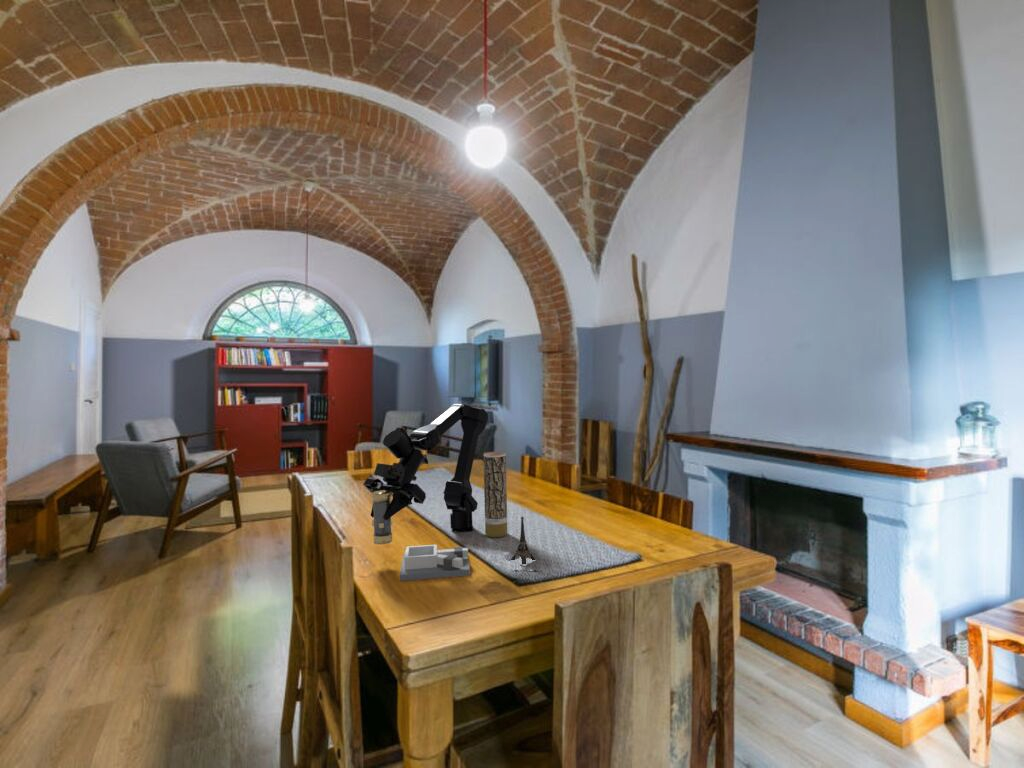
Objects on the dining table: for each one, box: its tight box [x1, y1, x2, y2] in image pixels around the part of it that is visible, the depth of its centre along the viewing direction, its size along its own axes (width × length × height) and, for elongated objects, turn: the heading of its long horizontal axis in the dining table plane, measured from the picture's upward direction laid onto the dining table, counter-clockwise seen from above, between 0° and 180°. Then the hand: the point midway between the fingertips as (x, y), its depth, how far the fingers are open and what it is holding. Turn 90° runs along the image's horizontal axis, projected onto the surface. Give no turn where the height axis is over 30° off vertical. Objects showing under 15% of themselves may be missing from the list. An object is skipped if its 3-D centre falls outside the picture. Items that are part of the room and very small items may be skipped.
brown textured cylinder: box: [483, 451, 508, 538], centre depth 156 cm, size 7×7×25 cm
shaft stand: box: [399, 544, 471, 582], centre depth 131 cm, size 17×15×4 cm
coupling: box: [371, 490, 394, 545], centre depth 134 cm, size 5×5×13 cm
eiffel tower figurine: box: [510, 515, 537, 564], centre depth 135 cm, size 15×10×13 cm
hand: (378, 517), depth 133 cm, fingers closed on coupling, 4 cm apart
